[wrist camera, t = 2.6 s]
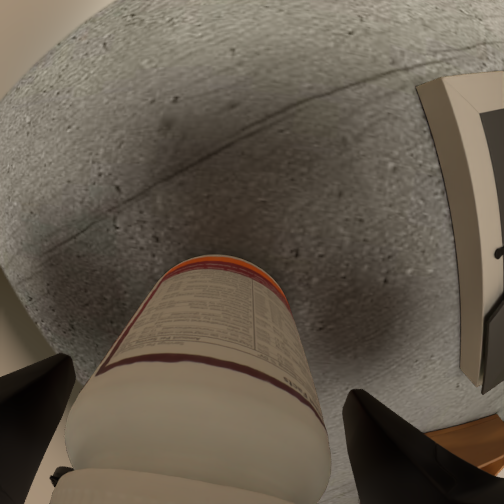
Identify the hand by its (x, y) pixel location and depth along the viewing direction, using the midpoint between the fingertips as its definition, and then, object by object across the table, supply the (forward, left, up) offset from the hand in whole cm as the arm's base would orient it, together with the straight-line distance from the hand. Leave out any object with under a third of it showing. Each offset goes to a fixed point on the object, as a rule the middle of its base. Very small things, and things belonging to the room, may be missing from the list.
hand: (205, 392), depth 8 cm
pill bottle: (0, 0, -5) cm, 5 cm away
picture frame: (+9, -20, -5) cm, 23 cm away
